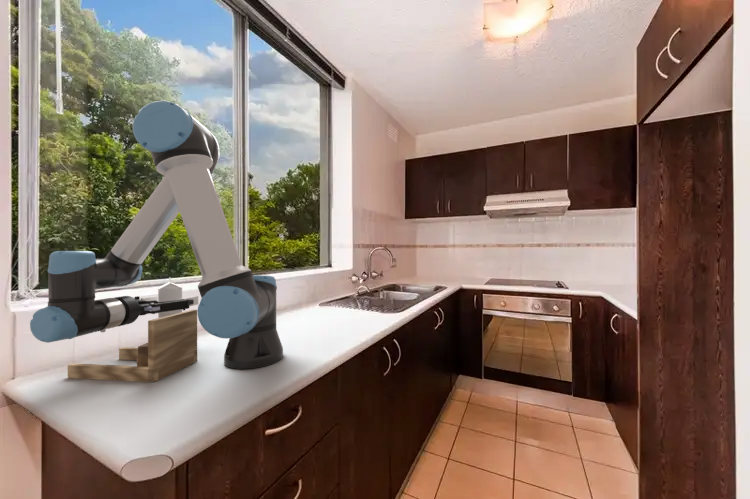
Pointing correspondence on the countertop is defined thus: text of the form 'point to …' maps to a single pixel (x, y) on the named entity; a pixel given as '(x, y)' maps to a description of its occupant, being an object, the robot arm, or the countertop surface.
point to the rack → (151, 352)
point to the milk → (169, 296)
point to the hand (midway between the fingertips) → (178, 299)
